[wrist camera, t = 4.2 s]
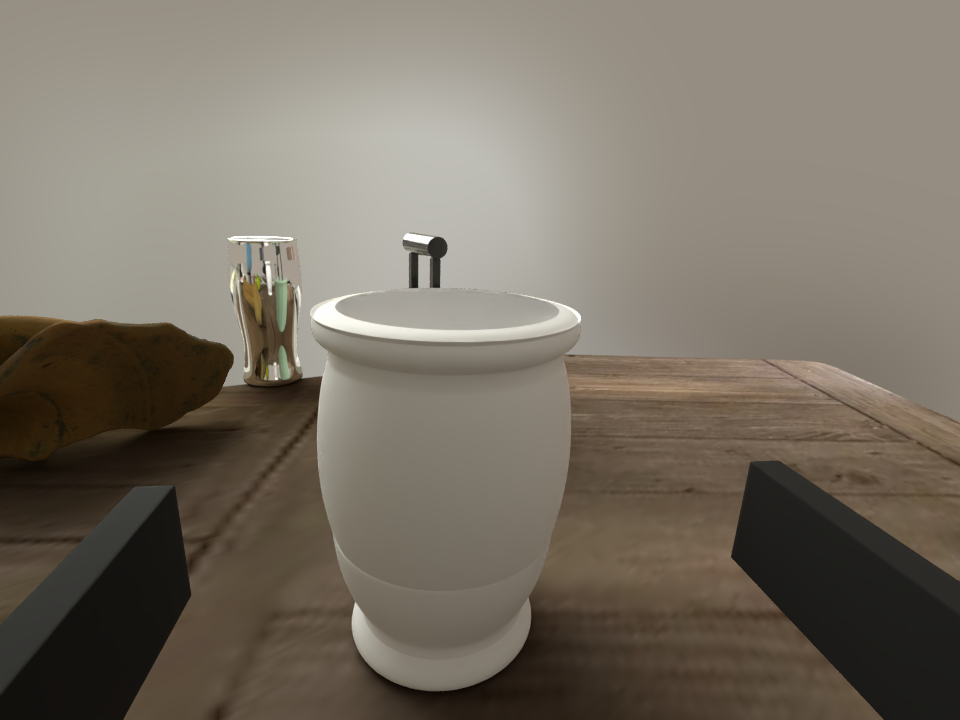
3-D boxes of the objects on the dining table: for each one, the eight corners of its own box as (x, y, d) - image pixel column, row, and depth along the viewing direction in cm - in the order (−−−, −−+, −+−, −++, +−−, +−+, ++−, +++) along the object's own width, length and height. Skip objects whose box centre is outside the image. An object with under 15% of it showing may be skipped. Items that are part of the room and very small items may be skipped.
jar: (482, 778, 17) (505, 356, 13) (276, 647, 22) (244, 307, 18) (583, 589, 26) (616, 302, 22) (420, 525, 31) (421, 279, 27)
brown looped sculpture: (18, 436, 24) (-434, 339, 24) (90, 585, 32) (-257, 511, 32) (224, 274, 39) (-53, 214, 39) (240, 400, 47) (7, 350, 47)
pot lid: (372, 343, 37) (370, 239, 35) (330, 309, 49) (327, 229, 47) (526, 329, 44) (532, 240, 42) (458, 302, 55) (459, 231, 53)
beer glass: (224, 385, 53) (208, 238, 49) (261, 366, 60) (250, 235, 55) (287, 391, 52) (276, 241, 48) (317, 371, 59) (310, 238, 55)
